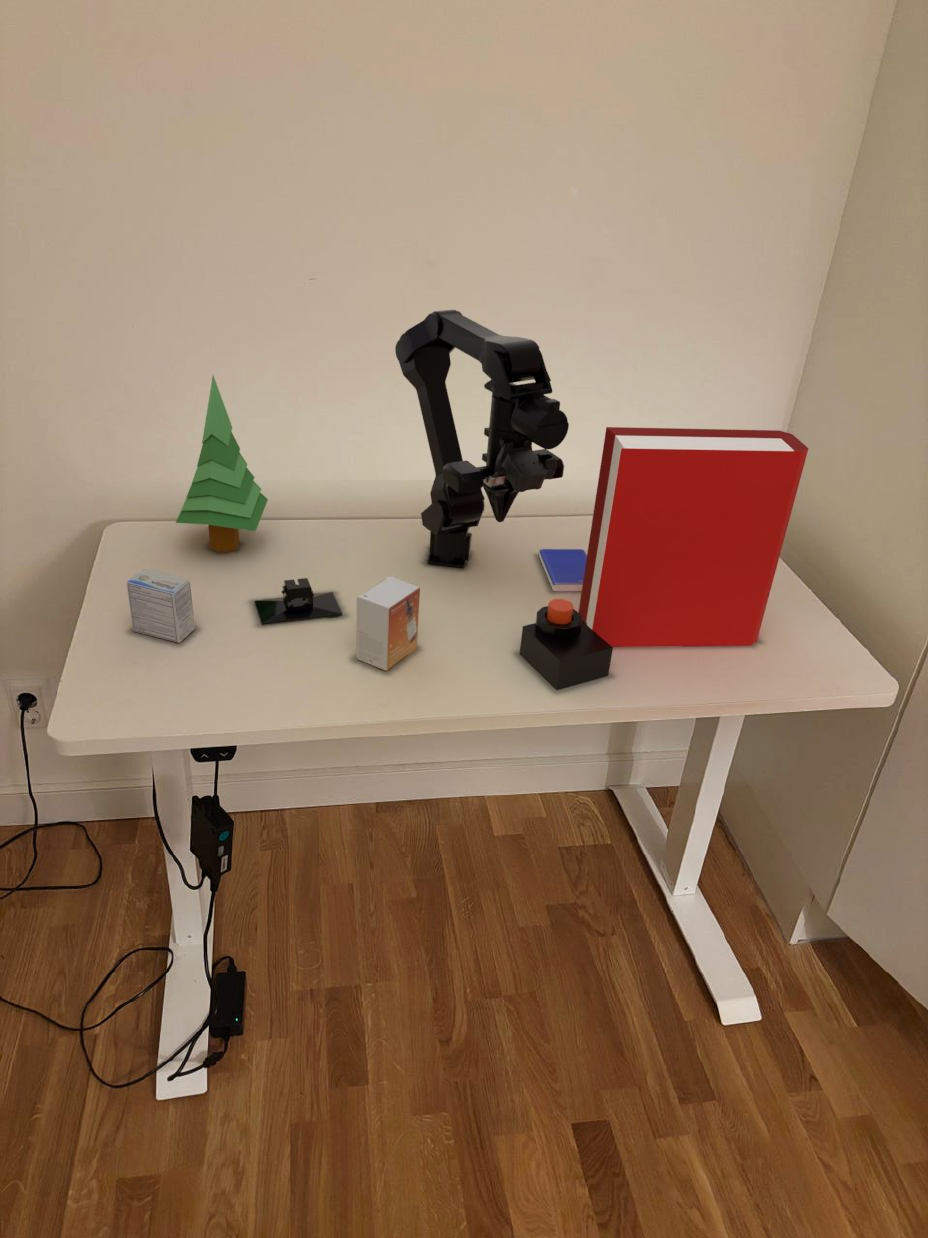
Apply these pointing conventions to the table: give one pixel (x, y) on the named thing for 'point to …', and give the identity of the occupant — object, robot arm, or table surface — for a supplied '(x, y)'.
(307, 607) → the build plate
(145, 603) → the medicine box
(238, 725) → the table surface
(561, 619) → the button
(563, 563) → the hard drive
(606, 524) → the book
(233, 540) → the decorative tree
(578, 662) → the button base
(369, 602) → the small box
